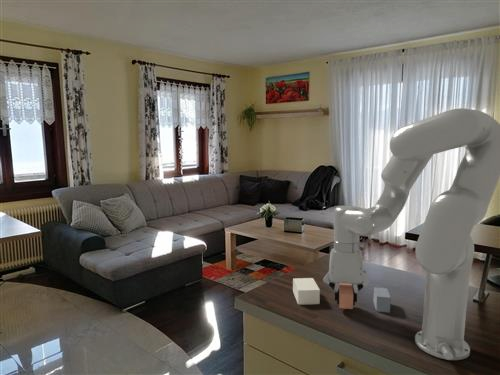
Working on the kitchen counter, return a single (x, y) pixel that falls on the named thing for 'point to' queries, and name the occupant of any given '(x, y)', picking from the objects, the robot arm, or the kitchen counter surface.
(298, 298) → the cream brick
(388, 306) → the slate brick
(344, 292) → the terracotta brick
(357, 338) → the kitchen counter surface
